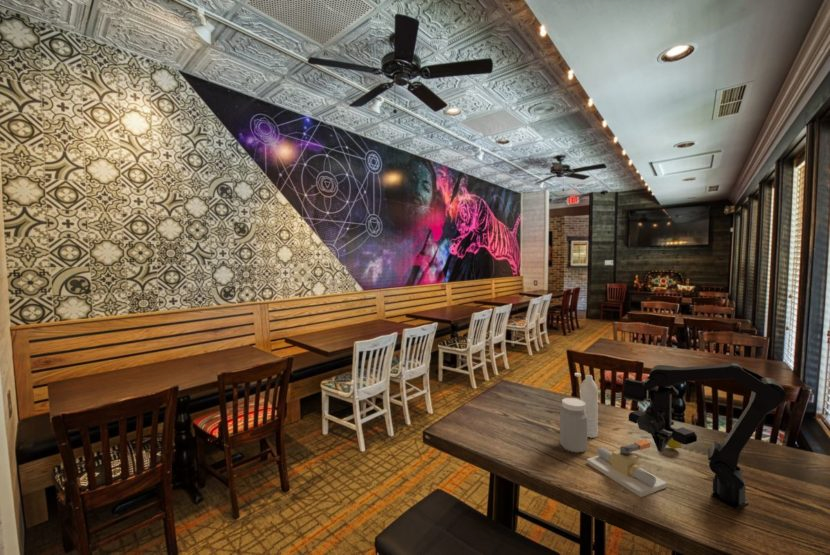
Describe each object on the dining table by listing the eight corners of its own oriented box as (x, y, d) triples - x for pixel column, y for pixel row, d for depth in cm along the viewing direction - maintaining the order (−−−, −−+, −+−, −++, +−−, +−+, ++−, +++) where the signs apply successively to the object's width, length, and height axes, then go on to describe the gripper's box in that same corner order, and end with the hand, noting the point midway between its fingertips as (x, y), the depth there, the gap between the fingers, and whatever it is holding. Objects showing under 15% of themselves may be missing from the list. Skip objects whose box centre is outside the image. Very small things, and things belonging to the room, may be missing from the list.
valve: (666, 487, 112) (667, 465, 111) (640, 497, 107) (640, 474, 107) (611, 455, 130) (611, 437, 130) (586, 462, 126) (586, 443, 126)
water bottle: (598, 432, 148) (598, 373, 147) (597, 439, 142) (597, 378, 141) (575, 428, 152) (575, 371, 151) (573, 434, 146) (573, 375, 145)
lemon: (685, 453, 131) (685, 432, 130) (668, 452, 132) (668, 431, 131) (677, 445, 136) (677, 425, 136) (661, 444, 137) (661, 424, 137)
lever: (625, 456, 117) (625, 450, 117) (618, 452, 119) (618, 446, 119) (650, 448, 121) (650, 442, 121) (643, 444, 124) (643, 439, 124)
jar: (555, 447, 137) (555, 402, 136) (565, 438, 144) (565, 394, 143) (582, 457, 130) (582, 409, 129) (591, 446, 137) (591, 401, 136)
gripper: (617, 399, 121) (617, 443, 122) (674, 421, 104) (673, 472, 104) (639, 393, 125) (639, 436, 126) (698, 414, 108) (697, 464, 108)
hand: (660, 451), depth 116 cm, fingers closed
